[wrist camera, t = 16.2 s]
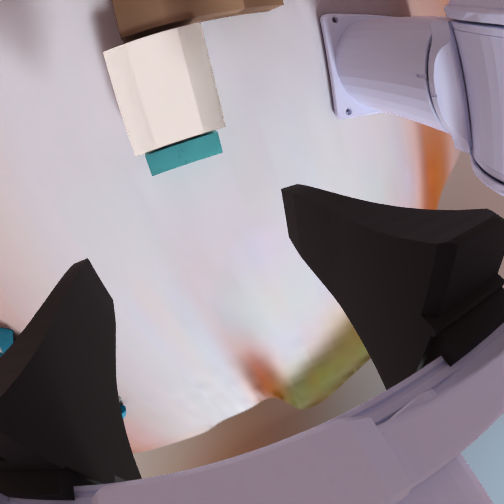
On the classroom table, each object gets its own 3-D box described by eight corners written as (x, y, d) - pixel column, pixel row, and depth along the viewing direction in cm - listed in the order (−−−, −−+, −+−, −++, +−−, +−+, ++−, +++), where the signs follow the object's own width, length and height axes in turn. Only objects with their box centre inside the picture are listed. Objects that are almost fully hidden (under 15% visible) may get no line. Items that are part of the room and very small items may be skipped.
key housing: (191, 31, 15) (200, 22, 12) (213, 118, 18) (225, 126, 16) (110, 56, 14) (103, 51, 11) (137, 143, 17) (135, 156, 15)
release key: (184, 35, 14) (191, 27, 12) (212, 141, 19) (222, 152, 16) (118, 55, 14) (113, 51, 11) (151, 161, 18) (152, 176, 16)
